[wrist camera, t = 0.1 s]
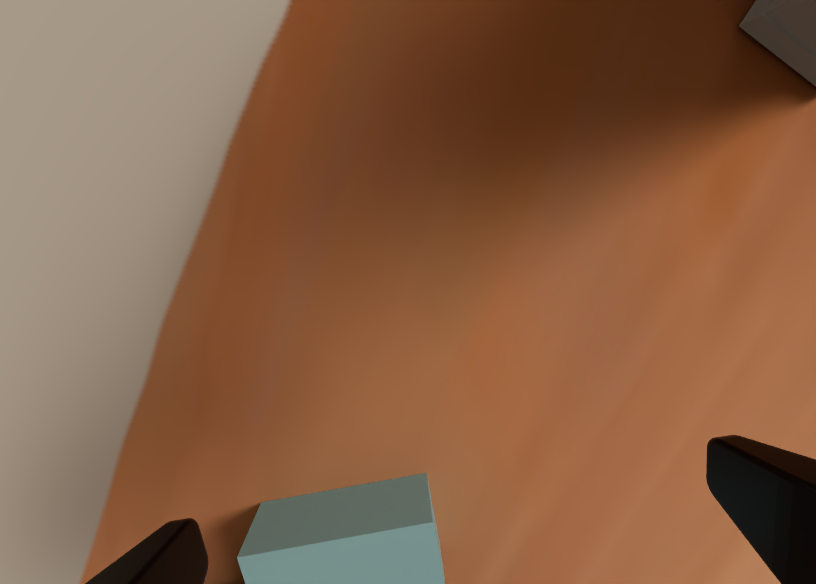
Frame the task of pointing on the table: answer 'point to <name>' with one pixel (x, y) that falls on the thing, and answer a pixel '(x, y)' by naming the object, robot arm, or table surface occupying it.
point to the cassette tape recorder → (786, 32)
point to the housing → (346, 537)
